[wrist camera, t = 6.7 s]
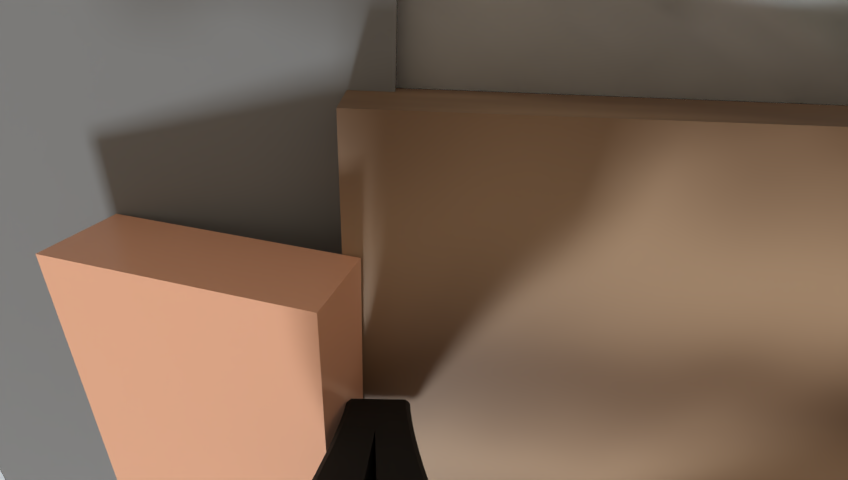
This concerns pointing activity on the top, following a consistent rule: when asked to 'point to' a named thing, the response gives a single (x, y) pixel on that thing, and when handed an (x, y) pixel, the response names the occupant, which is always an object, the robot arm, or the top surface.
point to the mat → (158, 159)
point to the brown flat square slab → (603, 282)
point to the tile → (208, 347)
